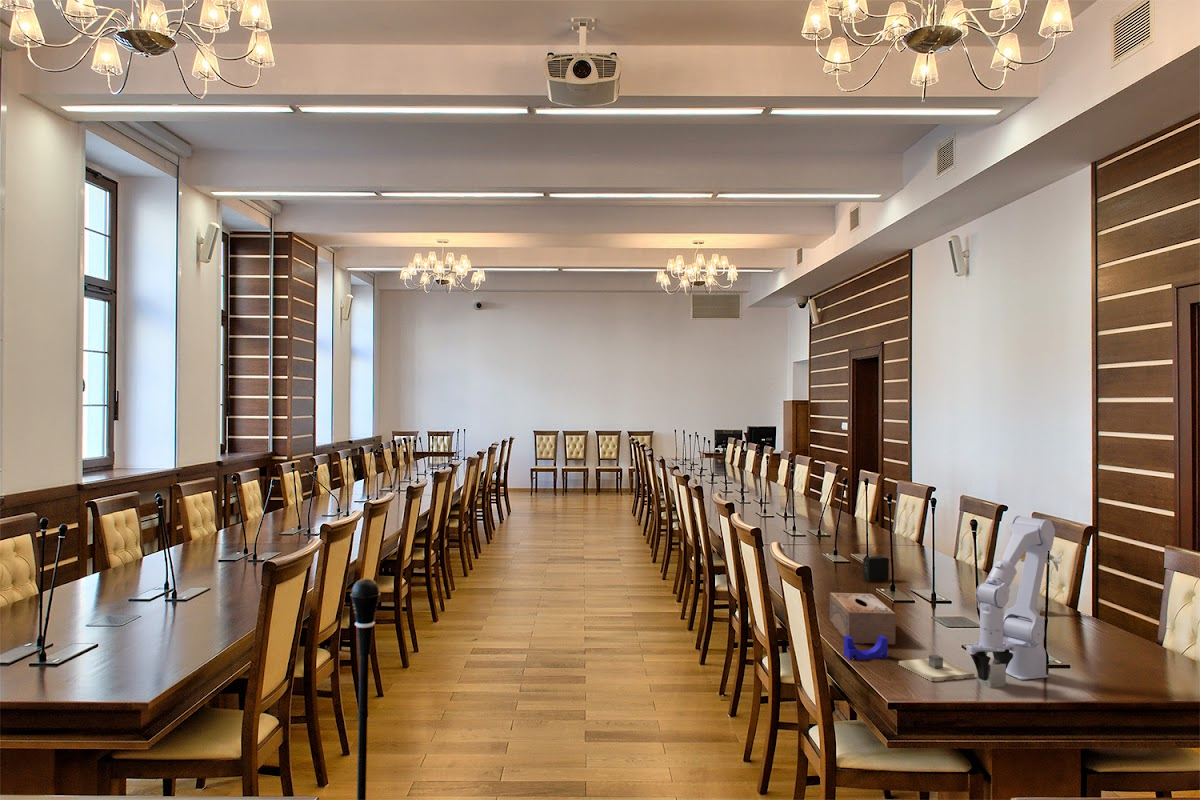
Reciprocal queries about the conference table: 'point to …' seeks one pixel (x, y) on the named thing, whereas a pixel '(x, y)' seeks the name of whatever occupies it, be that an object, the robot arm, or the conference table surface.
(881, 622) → the tissue box cover
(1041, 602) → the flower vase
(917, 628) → the conference table surface
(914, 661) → the board
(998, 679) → the brushed grey cube
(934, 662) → the post
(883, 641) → the cable clip
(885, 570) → the electronic device
